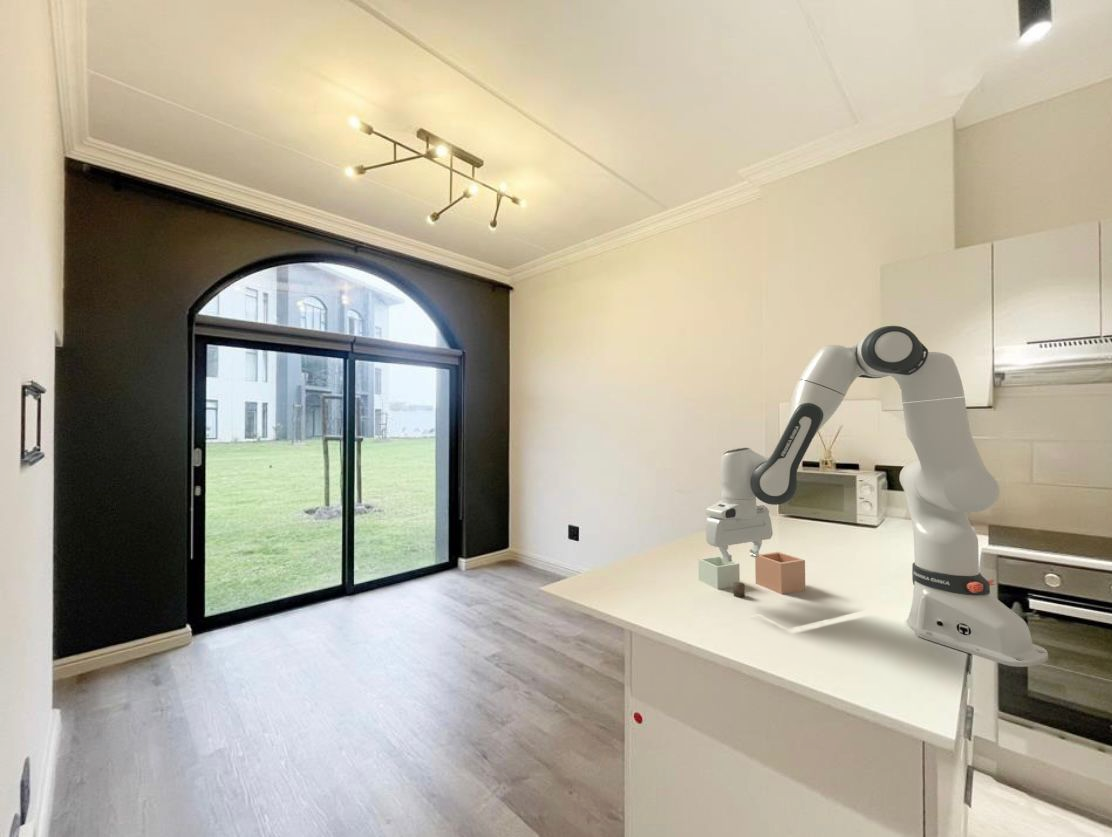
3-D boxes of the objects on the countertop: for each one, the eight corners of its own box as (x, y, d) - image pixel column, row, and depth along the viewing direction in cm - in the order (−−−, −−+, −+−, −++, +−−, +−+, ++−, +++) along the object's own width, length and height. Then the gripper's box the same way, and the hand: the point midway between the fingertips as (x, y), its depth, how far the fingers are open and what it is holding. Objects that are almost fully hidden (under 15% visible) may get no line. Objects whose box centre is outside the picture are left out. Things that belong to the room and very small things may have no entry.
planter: (805, 592, 123) (804, 560, 124) (781, 597, 120) (781, 563, 120) (778, 581, 132) (778, 551, 132) (755, 586, 128) (755, 555, 129)
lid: (763, 604, 117) (763, 587, 117) (738, 609, 114) (738, 591, 114) (739, 592, 125) (739, 576, 125) (715, 597, 122) (715, 581, 122)
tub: (739, 588, 127) (739, 563, 127) (717, 591, 124) (717, 567, 124) (720, 579, 134) (719, 556, 135) (698, 582, 132) (698, 559, 132)
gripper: (758, 502, 126) (761, 551, 126) (701, 509, 119) (703, 561, 119) (777, 505, 120) (779, 556, 120) (717, 513, 113) (719, 567, 113)
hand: (741, 559), depth 119 cm, fingers open, 8 cm apart
